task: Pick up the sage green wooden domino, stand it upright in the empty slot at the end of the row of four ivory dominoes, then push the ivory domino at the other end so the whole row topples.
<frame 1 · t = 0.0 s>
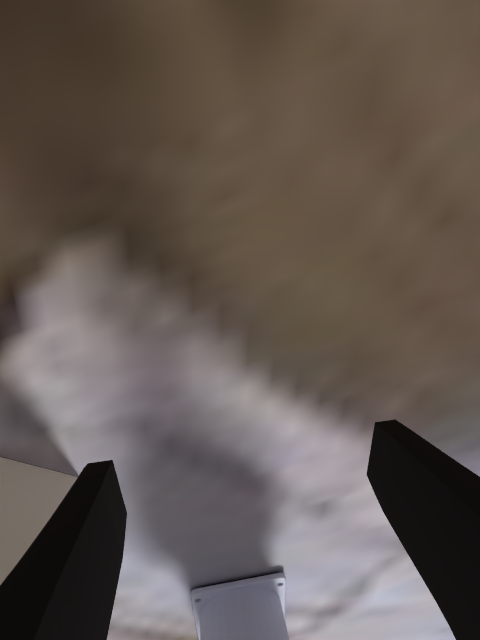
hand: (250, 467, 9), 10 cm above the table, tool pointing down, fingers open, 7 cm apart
ivory domino 1: (34, 475, 21), on the table
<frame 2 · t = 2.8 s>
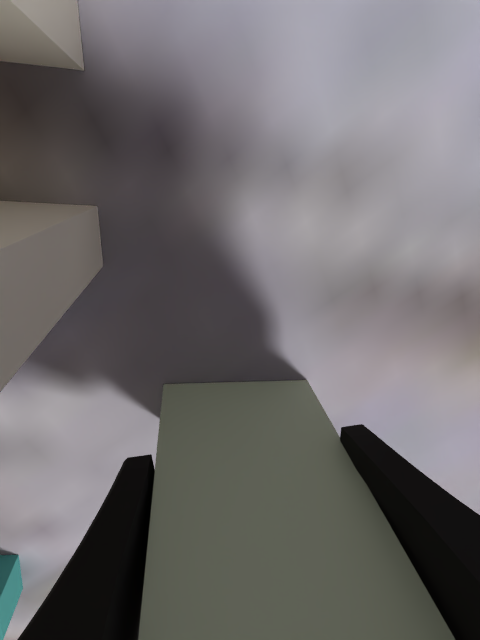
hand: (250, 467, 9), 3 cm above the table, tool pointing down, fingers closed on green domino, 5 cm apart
green domino: (236, 400, 12), on the table, touching gripper
when the fingers open (3 cm above the table, at t = 6.7 s): green domino stays where it is, on the table.
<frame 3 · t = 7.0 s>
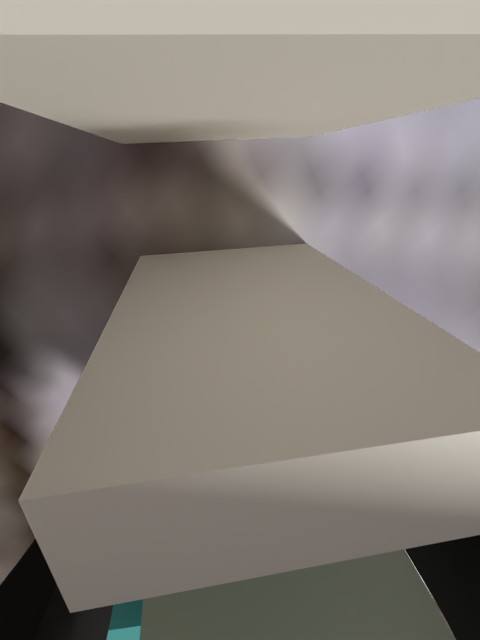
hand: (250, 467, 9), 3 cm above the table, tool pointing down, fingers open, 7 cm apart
ivory domino 3: (217, 104, 9), on the table
green domino: (235, 394, 12), on the table
ivory domino 4: (227, 275, 10), on the table
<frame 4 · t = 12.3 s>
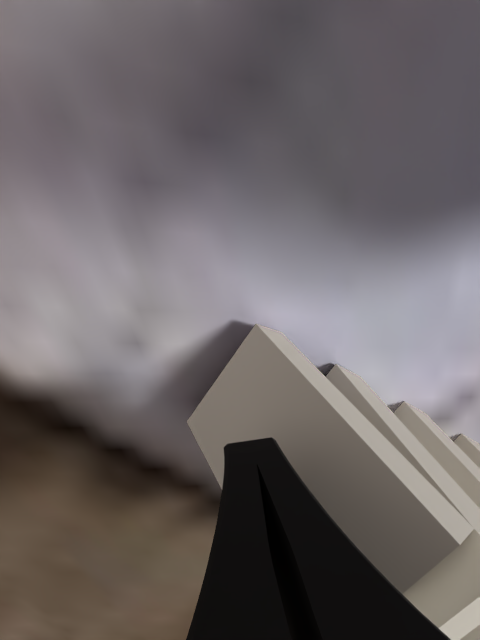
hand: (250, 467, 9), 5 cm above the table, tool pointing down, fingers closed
ivory domino 2: (313, 412, 15), on the table, tilted 6°
ivory domino 3: (380, 443, 17), on the table
ivory domino 1: (233, 377, 14), on the table, tilted 26°
ivory domino 4: (436, 470, 18), on the table
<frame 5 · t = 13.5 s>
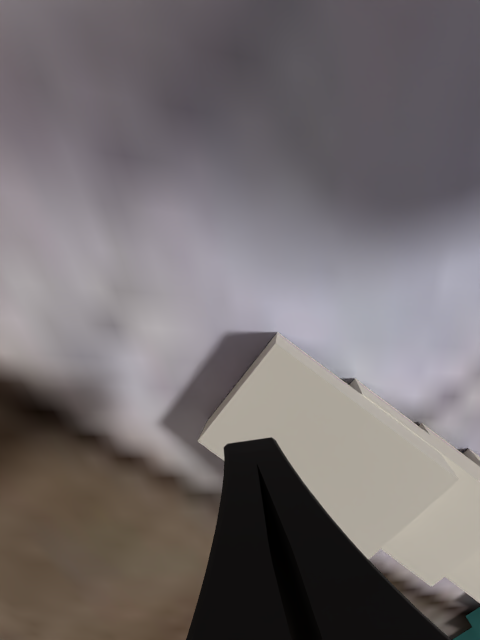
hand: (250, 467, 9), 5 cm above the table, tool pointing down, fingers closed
ivory domino 2: (320, 426, 15), point 1 cm above the table, tilted 69°, touching ivory domino 1, ivory domino 3
ivory domino 3: (390, 466, 16), point 1 cm above the table, tilted 68°, touching ivory domino 2, ivory domino 4
ivory domino 1: (237, 386, 13), point 1 cm above the table, tilted 69°, touching ivory domino 2
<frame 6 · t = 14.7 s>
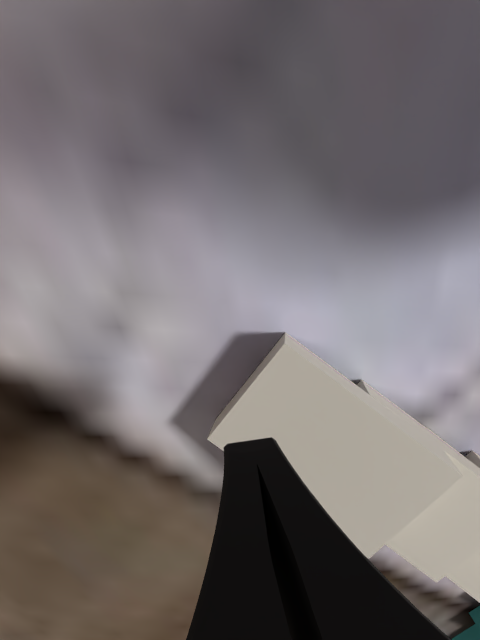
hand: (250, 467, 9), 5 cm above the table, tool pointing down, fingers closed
ivory domino 2: (327, 427, 15), point 1 cm above the table, tilted 69°, touching ivory domino 1, ivory domino 3
ivory domino 3: (394, 469, 17), point 1 cm above the table, tilted 68°, touching ivory domino 2, ivory domino 4
ivory domino 1: (246, 385, 13), point 1 cm above the table, tilted 69°, touching ivory domino 2
alien figure: (462, 638, 30), on the table, touching green domino
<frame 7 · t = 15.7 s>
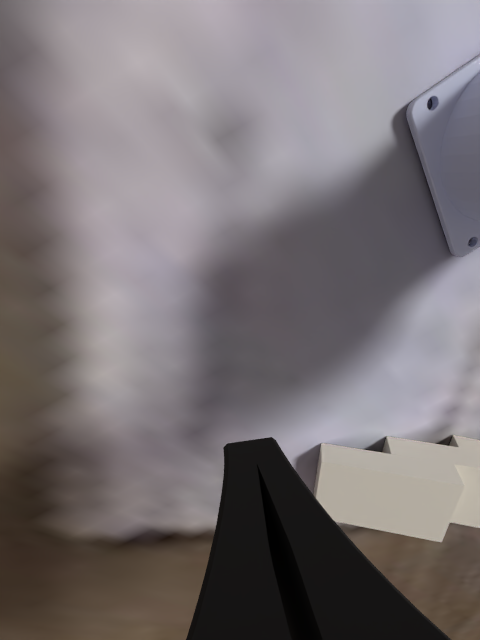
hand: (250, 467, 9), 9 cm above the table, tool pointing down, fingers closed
ivory domino 2: (381, 472, 23), point 1 cm above the table, tilted 70°, touching ivory domino 1, ivory domino 3
ivory domino 3: (445, 470, 24), point 1 cm above the table, tilted 68°, touching ivory domino 2, ivory domino 4
ivory domino 1: (316, 480, 22), point 1 cm above the table, tilted 70°, touching ivory domino 2
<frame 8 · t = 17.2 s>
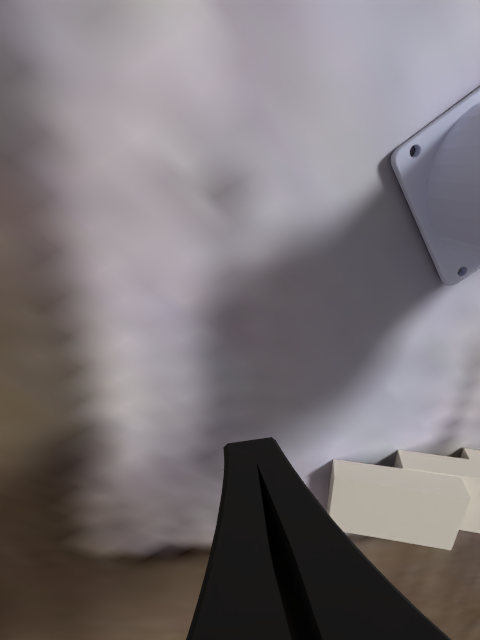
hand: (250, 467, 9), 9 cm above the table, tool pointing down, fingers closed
ivory domino 2: (393, 484, 24), point 1 cm above the table, tilted 70°, touching ivory domino 1, ivory domino 3
ivory domino 3: (457, 481, 25), point 1 cm above the table, tilted 69°, touching ivory domino 2, ivory domino 4
ivory domino 1: (330, 494, 24), point 1 cm above the table, tilted 70°, touching ivory domino 2
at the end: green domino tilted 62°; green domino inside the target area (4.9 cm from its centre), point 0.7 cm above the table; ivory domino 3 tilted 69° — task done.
